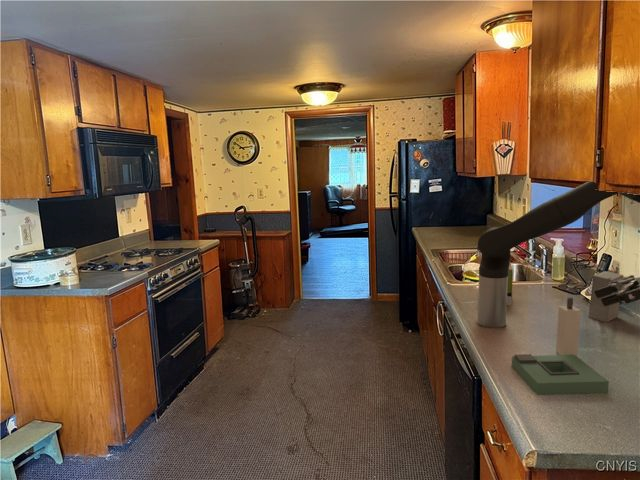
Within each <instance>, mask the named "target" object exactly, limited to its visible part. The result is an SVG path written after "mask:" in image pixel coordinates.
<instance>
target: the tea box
mask: <svg viewBox="0 0 640 480" xmlns="http://www.w3.org/2000/svg"><path fill="white" fill-rule="evenodd" d="M513 270H514V269H513V266H512V263H511V261H510V265H509V270H508V288H507V306H512V303H513V301H512V299H513V278H514V277H513V276H514V275H513V274H514V273H513Z"/></svg>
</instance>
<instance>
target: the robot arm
mask: <svg viewBox="0 0 640 480" xmlns="http://www.w3.org/2000/svg"><path fill="white" fill-rule="evenodd" d="M595 189H598V185H597V184H596V183H592V182H588V181H587V182H585V183H582V184H580V185H577V187H574V188H572V189H570V190H568V191H566V192H564V193H562V194H560V195H558V196H554V197H553V198H551V199H549V200H547V201H545V202H542V203H541V204H539V205H537V206H535V207H533V208H532V209H531V210H529V211H528V212H526V213H524V214H523V215H522V216H520V217H518V218H516V219H515V220H514V221H512V222H510V223H507V224H504V225H502V226H499V227H496V226H493V227H490V228H488V229H487V230H485V231H483V233H482V234H481V235H480V236H479V238H478V241H477V248H478V251H479V253H481V258H480V259H481V260H480V264H479V266H478V293H477V294H478V295H477V323H478V324H479V325H480V326H483V327H486V328H502V327H505V326H507V325H506V323H507V310H508V305H507V288H508V270H509V265H510V262H511V249H513V248H516V247H517V246H519V245H521V244H523V243H525V242H527V241H531V240H534V239H536V238H539V237H542V236H545V235H548V234H549V233H553V232H555V231H558V230H560V229H562V228H564V227H566V226H569V225H571V224H573V223H576V221H579V219H581V218H582V217H584V216H585V215H586V214H587V213H588V212H589V211H590V210H591V209H592V208H594V207H595V206H596V205H597V204H599V203H601V202H603V201H605V200H606V199H608V198H611V197H614V196H615V195H618V194H620V195H621V196H623V197H625V198H628V199H629V200H632V201H634V202H636V203H639V204H640V195H633V194H627V193H618V192H606V191H599V190H595ZM616 286H617V287H616ZM594 293H595V295H596V297H597V298H601V297H602V298H601V302H602V304H603V305H604V306H609V305H612V304H615V303H618V302H620V303H625V304H631V303H634V302H636V301H639V300H640V276H639V277H635V275H633V274H632V275H631V274H630V275H629V276H625V277H623V278H621V279H618V280H615V281H611V282H609V285H608V286H606V287H603V288H600V289H597V290H594ZM613 293H615V294H613ZM616 293H617V294H616ZM610 294H612V295H610ZM607 295H609V296H607ZM604 296H605V297H604Z"/></svg>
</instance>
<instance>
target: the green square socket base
mask: <svg viewBox="0 0 640 480" xmlns="http://www.w3.org/2000/svg"><path fill="white" fill-rule="evenodd" d="M511 368H512V369H513V370H514V371H515V372H516V373H517V374H518V375H519V376H520V378H522V380H523V379H524V380H523V381H524V382H525V383H526V384H527V385H528V386H529V387H530V389H532V390H533V392H534V393H535V394H536V395H541V396H543V395H571V394H573V395H575V394H576V395H577V394H606V393H607V394H608V392H609V383H610V380H608V379H606V378H605V377H604V376H602V375H601V374H600V373H599V372H597V371H596V370H595V369H594V368H592V367H591V366H590V365H589V364H588V363H586V362H585V361H583V360H582V359H581V358H579V357H578V355H577V356H576V355H559V354H552V355H551V354H549V355H548V354H547V355H532V354H531V353H529V354H526V353H525V354H524V353H522V354H520V353H519V354H514V355H512V357H511Z"/></svg>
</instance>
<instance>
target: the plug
mask: <svg viewBox="0 0 640 480" xmlns="http://www.w3.org/2000/svg"><path fill="white" fill-rule="evenodd" d="M573 304H574V298H573V297H571V296H570V297H569V296H568V297H567V299H566V305H561V306H558V312H557V313H558V315H557V330H556V331H557V332H556V345H555V346H556V347H555V353H557V355H576V356H577V357H578V351H579V341H580V339H579V336H580V327H581V326H580V323H581V312H582V311H581V309H580V308H577V307H575V306H574V305H573Z"/></svg>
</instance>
